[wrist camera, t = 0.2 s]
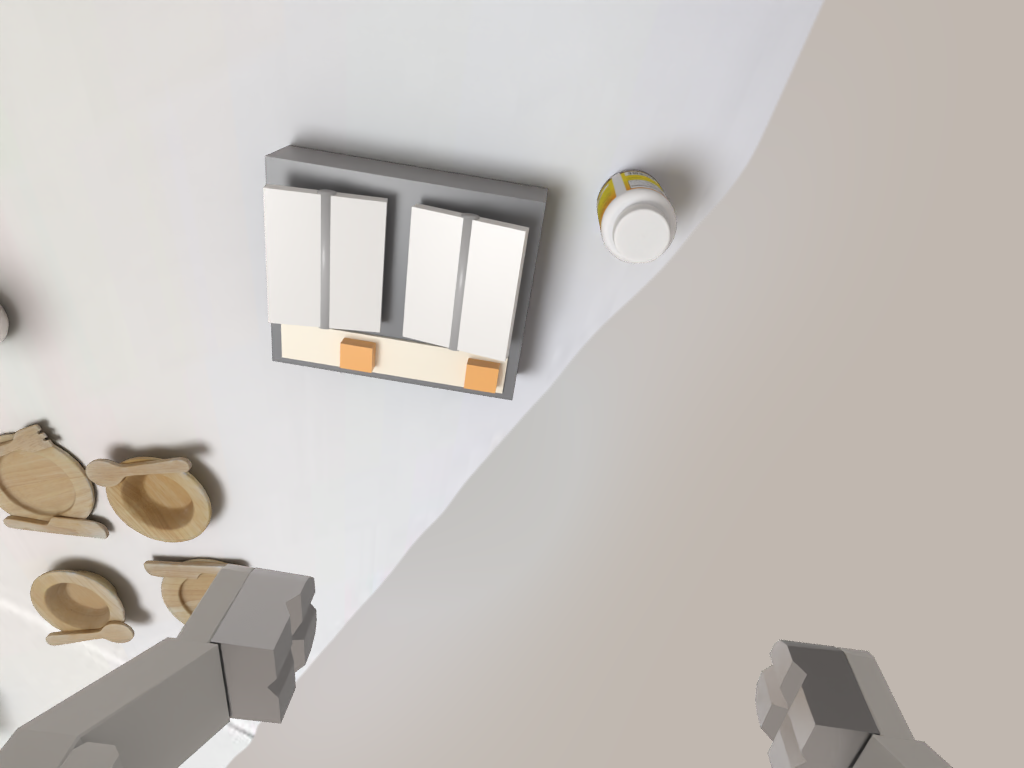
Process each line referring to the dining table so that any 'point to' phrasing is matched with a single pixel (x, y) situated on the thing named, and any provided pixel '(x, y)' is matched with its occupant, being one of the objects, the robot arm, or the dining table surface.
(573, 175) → the dining table surface
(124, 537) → the dining table surface
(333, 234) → the rocker
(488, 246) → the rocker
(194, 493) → the tableware set
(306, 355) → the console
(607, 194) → the supplement bottle
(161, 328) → the dining table surface
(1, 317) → the plastic bottle
